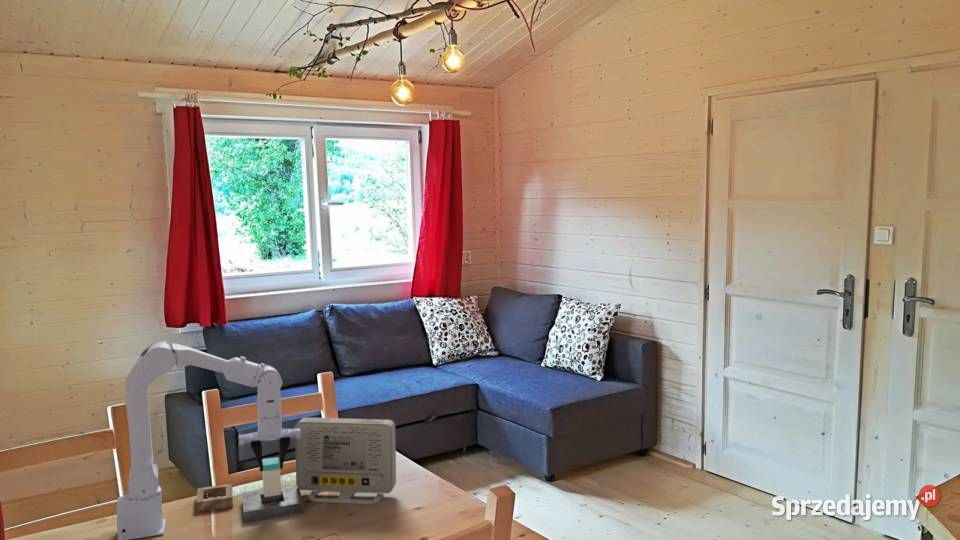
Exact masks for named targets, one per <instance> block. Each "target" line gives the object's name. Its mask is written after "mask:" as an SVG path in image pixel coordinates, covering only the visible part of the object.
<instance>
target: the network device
mask: <svg viewBox="0 0 960 540" xmlns="http://www.w3.org/2000/svg"><path fill="white" fill-rule="evenodd" d="M297 428H300V434H301V438H294V446H295V481H296V482H295V484H296V485H297V487H298V488H299V489H300V491H311V492H310V493H309V495H308V500H309V501H310V502H313V503H331V504H355V505H356V504H359V505H360V504H361V505H373V504H376V503H379V502H380V501H381V499H382V497H383V496H384V494H390V493H392V491H393V490H394V488H395V486H396V484H397V465H396V464H397V455H396V453H397V450H396V445H397V444H396V424H395V422H394V420H391V419H377V418H376V419H374V418H371V419H369V418H368V419H367V418H339V417H337V418H334V417H302V418H301V419H300V420H299V421H298V422H296V424H295V426H294V429H297ZM319 492H339V495H338V497H335V498H321V497H319V498H318V497H315V496H316V495H317V494H318V493H319ZM355 493H367V494H368V493H369V494H376V496H375V497H374V499H352V497H353V495H354V494H355Z"/></svg>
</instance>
